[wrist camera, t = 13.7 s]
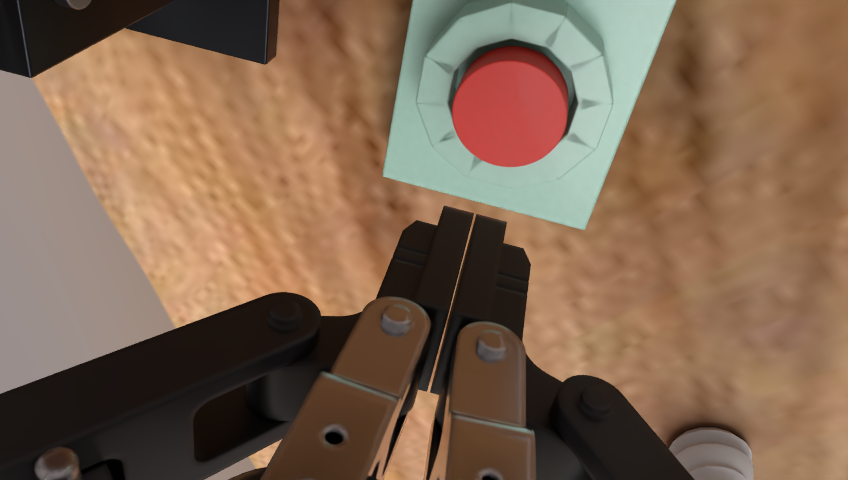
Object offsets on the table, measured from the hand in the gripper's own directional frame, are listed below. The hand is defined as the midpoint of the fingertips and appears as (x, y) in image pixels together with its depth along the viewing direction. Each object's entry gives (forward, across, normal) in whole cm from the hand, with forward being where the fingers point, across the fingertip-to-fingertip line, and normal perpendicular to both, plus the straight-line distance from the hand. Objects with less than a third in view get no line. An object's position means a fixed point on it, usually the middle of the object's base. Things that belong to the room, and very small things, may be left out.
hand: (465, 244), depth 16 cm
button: (+11, 0, +1) cm, 11 cm away
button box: (+15, 0, +1) cm, 15 cm away
